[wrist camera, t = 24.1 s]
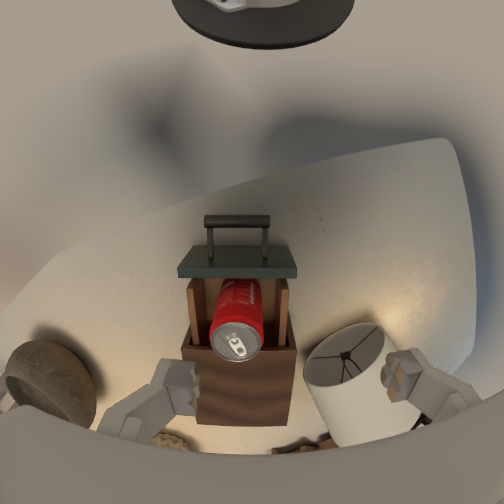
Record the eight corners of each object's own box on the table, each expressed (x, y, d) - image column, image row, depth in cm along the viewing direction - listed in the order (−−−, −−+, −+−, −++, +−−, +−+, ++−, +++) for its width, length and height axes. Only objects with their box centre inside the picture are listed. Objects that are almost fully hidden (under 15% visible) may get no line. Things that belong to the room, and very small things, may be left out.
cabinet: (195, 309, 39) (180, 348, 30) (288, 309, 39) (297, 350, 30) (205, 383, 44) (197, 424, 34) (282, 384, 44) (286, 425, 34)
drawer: (190, 208, 34) (173, 221, 26) (289, 208, 33) (299, 220, 26) (201, 337, 39) (191, 371, 32) (283, 338, 39) (288, 373, 32)
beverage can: (250, 264, 35) (249, 312, 23) (267, 297, 36) (272, 353, 25) (214, 279, 35) (197, 331, 24) (232, 311, 37) (224, 369, 25)
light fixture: (349, 456, 45) (276, 366, 41) (410, 405, 48) (363, 298, 44) (385, 499, 28) (315, 424, 24) (456, 435, 31) (432, 319, 27)
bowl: (126, 399, 46) (102, 451, 32) (67, 397, 48) (43, 437, 34) (73, 317, 40) (27, 365, 26) (21, 329, 42) (-15, 364, 28)
